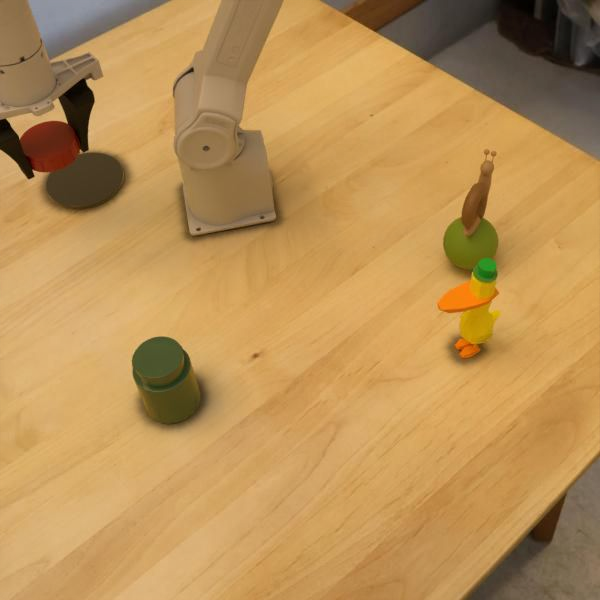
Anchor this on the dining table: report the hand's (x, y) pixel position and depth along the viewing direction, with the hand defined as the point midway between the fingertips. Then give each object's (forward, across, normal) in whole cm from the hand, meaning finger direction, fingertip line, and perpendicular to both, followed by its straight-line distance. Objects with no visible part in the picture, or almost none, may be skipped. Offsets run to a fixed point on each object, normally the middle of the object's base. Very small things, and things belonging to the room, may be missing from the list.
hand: (54, 159), depth 88 cm
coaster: (+9, +4, +6) cm, 12 cm away
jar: (+9, -4, -26) cm, 28 cm away
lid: (-2, 0, 0) cm, 2 cm away
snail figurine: (+10, +30, -31) cm, 44 cm away
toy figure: (+10, +22, -39) cm, 46 cm away
